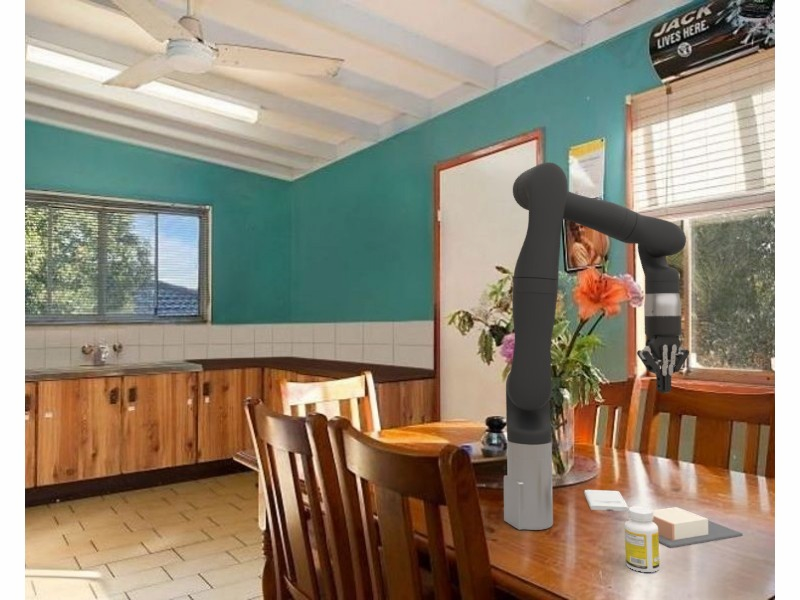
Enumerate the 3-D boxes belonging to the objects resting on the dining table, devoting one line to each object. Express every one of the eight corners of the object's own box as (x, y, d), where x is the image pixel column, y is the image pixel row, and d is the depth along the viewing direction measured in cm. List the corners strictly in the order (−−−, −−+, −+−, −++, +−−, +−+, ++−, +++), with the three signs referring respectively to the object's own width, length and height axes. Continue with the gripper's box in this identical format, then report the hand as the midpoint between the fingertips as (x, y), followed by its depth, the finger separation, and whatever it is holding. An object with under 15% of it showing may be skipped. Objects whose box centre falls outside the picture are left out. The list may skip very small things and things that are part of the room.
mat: (670, 547, 111) (670, 545, 111) (625, 527, 123) (625, 525, 123) (742, 535, 118) (742, 533, 118) (693, 516, 129) (693, 514, 129)
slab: (708, 534, 117) (672, 540, 114) (676, 521, 125) (642, 526, 122) (708, 518, 117) (672, 524, 114) (676, 506, 125) (641, 511, 122)
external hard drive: (619, 497, 145) (629, 514, 133) (584, 496, 146) (590, 512, 134) (619, 490, 145) (629, 506, 133) (584, 489, 146) (590, 504, 134)
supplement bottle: (650, 560, 106) (649, 504, 106) (665, 573, 100) (664, 514, 101) (620, 561, 106) (619, 505, 106) (633, 574, 100) (632, 515, 101)
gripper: (650, 314, 128) (652, 395, 127) (699, 314, 132) (700, 392, 131) (626, 314, 135) (628, 391, 134) (673, 314, 139) (674, 389, 139)
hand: (664, 392), depth 133 cm, fingers closed
